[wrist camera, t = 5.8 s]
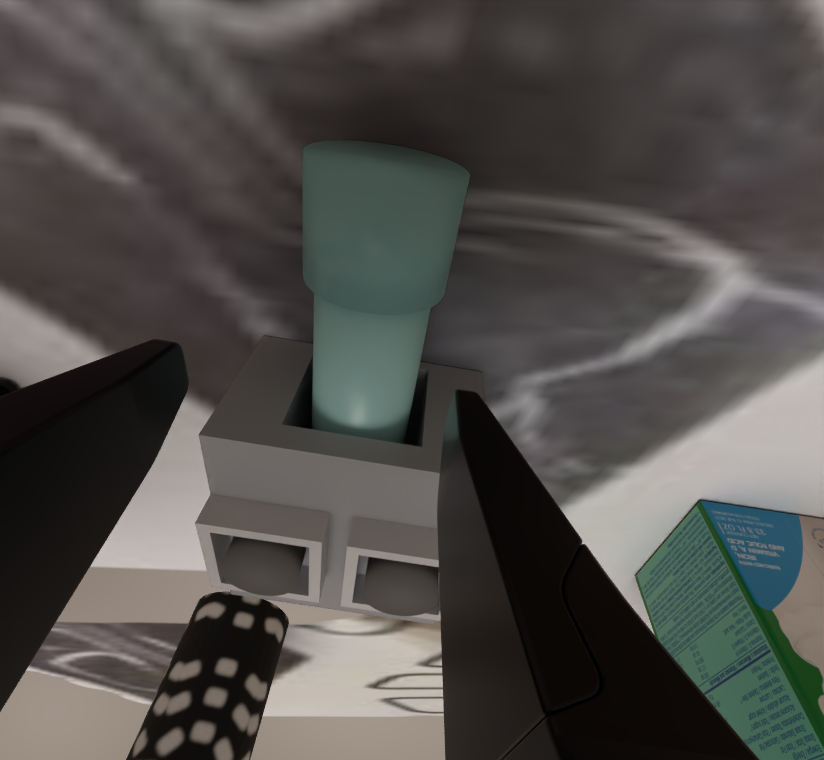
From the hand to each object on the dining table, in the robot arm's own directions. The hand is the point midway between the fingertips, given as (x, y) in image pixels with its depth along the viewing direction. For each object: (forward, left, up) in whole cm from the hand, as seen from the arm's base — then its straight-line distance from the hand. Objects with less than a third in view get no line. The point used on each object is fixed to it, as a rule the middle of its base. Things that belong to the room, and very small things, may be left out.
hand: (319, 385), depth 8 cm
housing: (0, -14, -12) cm, 18 cm away
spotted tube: (-9, -39, -12) cm, 41 cm away
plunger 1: (-3, -14, -5) cm, 15 cm away
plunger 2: (+3, -13, -5) cm, 15 cm away
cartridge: (0, -8, -11) cm, 14 cm away
